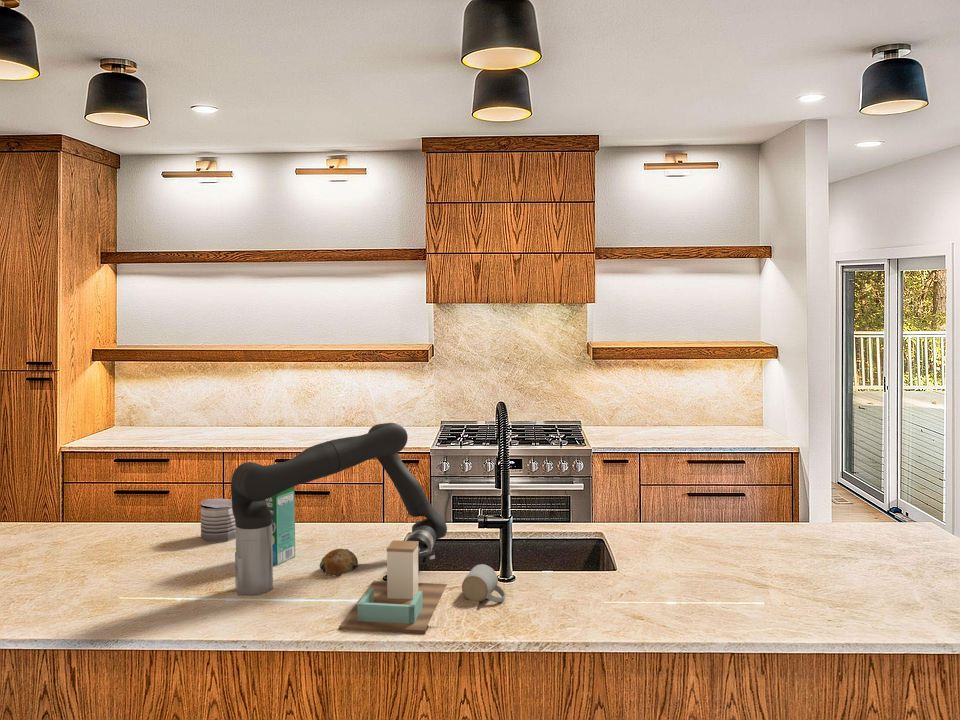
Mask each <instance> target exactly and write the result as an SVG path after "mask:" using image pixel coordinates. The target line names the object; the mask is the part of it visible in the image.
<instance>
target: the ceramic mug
mask: <svg viewBox="0 0 960 720" xmlns="http://www.w3.org/2000/svg"><path fill="white" fill-rule="evenodd" d="M495 571H496V570H494V568H492V567H491V566H489V565H487V564H483V563H482V564H481V563H480V564H476V565H475V566H473V567H472V568H471V570H470V571H469V572H468V573H467V574H466V576H465V577H464V579H463V581H462V584H461V590H462V594H463V595H464V597H465V598H466V599H467V600H468V601H474V602H479V603H481V602H483V601H485V600H486V599H487V600H489V601H491V602H493V603H496V604H498V603H499V602H501V603H503V601H504V600H505V598H506V595H507V594H506V592H505V591H504V589H503V588H502V587H501V586H499V585H498V584H499V583H498V582H499V581H498V575H497V573H496V572H495ZM494 591H495V592H497V594H499V595H500V597H498V596H495V595H493V594H492V593H493V592H494Z"/></svg>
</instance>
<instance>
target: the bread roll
mask: <svg viewBox="0 0 960 720" xmlns="http://www.w3.org/2000/svg"><path fill="white" fill-rule="evenodd" d="M358 561H359V560H358V558H357V556H356V555H355V553H354V552H353V551H351V550H350V549H348V548H335V549H332V550H331V551H329V552H327V553H326V554H325V555H324V556H323V557H322V559H321V561H320V563H319V570H322V572H323V574H325V573H326V574H325V575H328V574H330V575H329V576H332V575H335V576H339V575H340V576H342V575H343V574H344V573H346V574H347V573H350V572H352V571H354V570H356V569H357V568H359V567H358V564H359V562H358Z"/></svg>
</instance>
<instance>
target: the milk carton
mask: <svg viewBox="0 0 960 720" xmlns="http://www.w3.org/2000/svg"><path fill="white" fill-rule="evenodd" d="M295 501H296V500H295V486H294V487H292V488H289V489H287V490H285V491H283V492H281V493H278V494H276V495H274V496H272V497H270V498H268V499H266V504H267V506H268V508H269V510H270V512H271V514H272V550H273V566H274V565H277V566H279V565H281V564H283V563H285V562H287V560H288V561H289V559H290V560H291V558H292V559H293V557H294V558H295V557H296V515H295V513H296V512H295V511H296V507H295V506H296V504H295ZM278 564H279V565H278Z"/></svg>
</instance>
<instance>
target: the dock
mask: <svg viewBox="0 0 960 720" xmlns="http://www.w3.org/2000/svg"><path fill="white" fill-rule="evenodd" d="M367 589H368V588H367ZM364 593H365V592H364ZM361 597H362V596H361ZM358 601H359V600H358ZM422 607H423V591H417V593H416V595H415V597H414V598H413V600H412V602H411V604H410V605H406V604H385V603H374V589H368V591H367V592H366V593H365V595H364V596H363V597H362V599H361V600H360V601H359V603H358V604H357V611H358V621H369V622H388V623H407V624H414V623H415V621H416V619H417V617H418V615H419V613H420V611H421V609H422Z"/></svg>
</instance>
